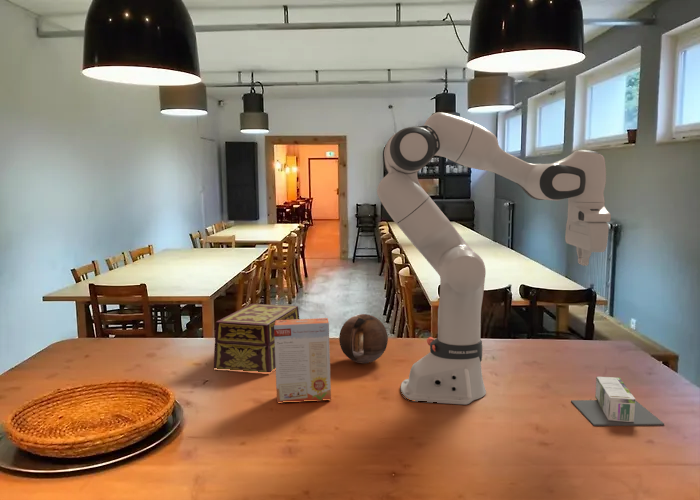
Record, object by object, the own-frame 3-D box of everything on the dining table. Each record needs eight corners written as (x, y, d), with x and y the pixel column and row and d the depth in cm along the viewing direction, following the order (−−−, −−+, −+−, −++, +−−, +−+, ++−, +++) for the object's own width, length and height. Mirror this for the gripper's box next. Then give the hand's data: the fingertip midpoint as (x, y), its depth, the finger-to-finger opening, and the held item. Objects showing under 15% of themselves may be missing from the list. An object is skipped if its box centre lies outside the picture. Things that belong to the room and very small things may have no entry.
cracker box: (330, 393, 153) (328, 316, 151) (331, 402, 147) (329, 322, 145) (277, 395, 152) (275, 318, 150) (276, 404, 146) (273, 324, 144)
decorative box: (252, 344, 199) (251, 302, 197) (303, 348, 194) (301, 304, 192) (213, 370, 173) (210, 322, 171) (269, 375, 168) (268, 325, 166)
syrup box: (618, 398, 146) (635, 423, 131) (593, 397, 147) (608, 421, 132) (619, 377, 145) (637, 399, 131) (595, 375, 146) (609, 397, 132)
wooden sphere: (357, 351, 189) (357, 307, 187) (396, 359, 180) (396, 313, 178) (329, 364, 177) (329, 316, 175) (370, 373, 168) (369, 323, 166)
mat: (593, 425, 131) (593, 424, 131) (571, 401, 145) (571, 400, 145) (664, 425, 131) (664, 423, 131) (634, 401, 145) (634, 399, 145)
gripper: (560, 210, 161) (558, 258, 163) (587, 215, 141) (585, 271, 143) (583, 210, 161) (580, 258, 163) (614, 215, 141) (610, 271, 142)
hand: (583, 264), depth 153 cm, fingers closed
